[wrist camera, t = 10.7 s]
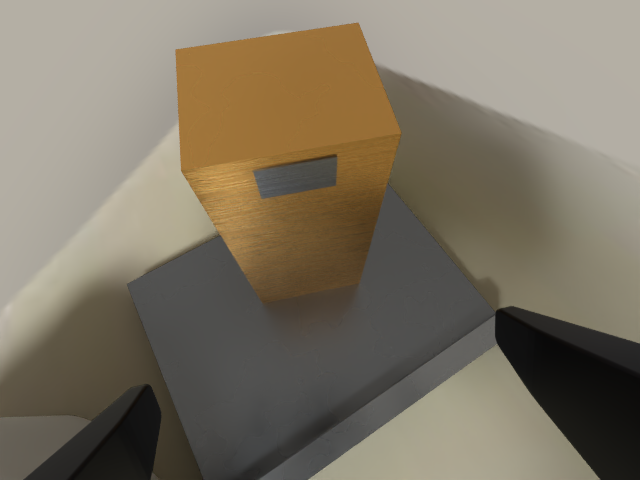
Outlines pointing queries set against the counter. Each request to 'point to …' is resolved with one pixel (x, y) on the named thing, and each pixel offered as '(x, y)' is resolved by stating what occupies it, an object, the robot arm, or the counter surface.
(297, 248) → the block
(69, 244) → the counter surface
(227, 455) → the dark grey tray
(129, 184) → the counter surface
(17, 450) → the lumpy-topped squat cylinder
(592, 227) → the counter surface
